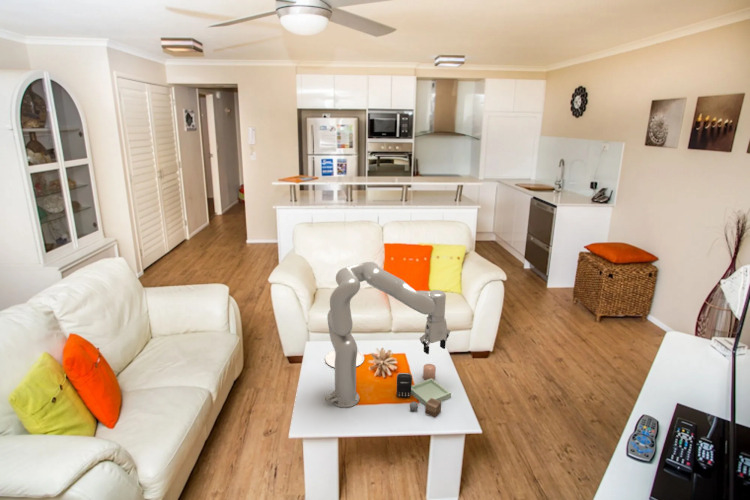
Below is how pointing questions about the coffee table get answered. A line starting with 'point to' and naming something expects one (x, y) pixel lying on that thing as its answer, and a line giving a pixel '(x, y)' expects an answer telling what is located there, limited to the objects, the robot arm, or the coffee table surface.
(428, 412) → the block
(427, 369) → the beige round piece
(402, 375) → the battery
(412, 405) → the ball
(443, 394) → the tray
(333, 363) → the plate
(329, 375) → the coffee table surface
